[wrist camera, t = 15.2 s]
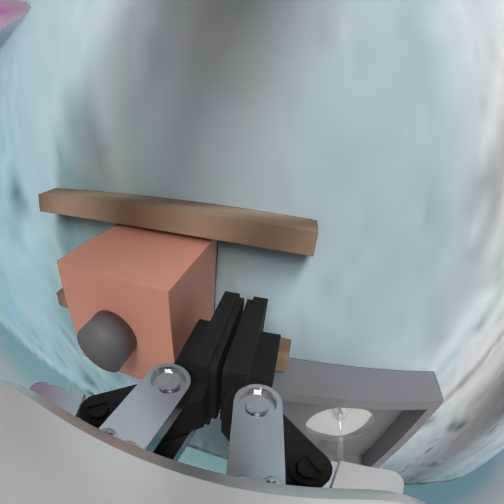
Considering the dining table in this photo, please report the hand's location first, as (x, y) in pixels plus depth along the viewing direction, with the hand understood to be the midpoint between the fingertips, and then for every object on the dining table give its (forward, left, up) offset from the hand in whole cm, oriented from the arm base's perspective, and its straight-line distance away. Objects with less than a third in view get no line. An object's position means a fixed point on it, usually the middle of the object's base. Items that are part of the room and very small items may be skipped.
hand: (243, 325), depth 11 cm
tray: (-6, +10, -3) cm, 12 cm away
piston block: (+4, 0, -3) cm, 5 cm away
